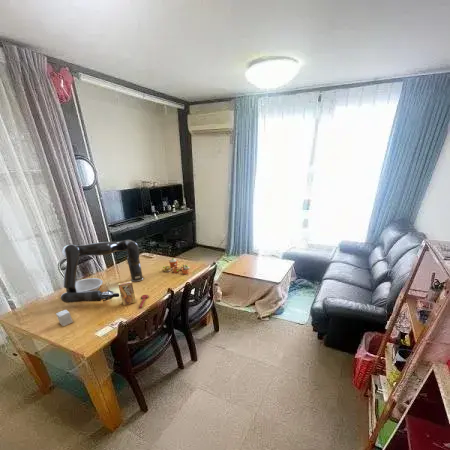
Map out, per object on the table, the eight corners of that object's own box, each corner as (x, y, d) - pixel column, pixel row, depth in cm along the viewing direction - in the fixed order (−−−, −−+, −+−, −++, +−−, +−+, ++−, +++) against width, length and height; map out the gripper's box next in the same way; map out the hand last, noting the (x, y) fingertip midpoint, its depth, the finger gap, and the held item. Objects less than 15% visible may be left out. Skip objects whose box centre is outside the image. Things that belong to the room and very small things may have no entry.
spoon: (142, 296, 189) (142, 294, 188) (148, 295, 189) (148, 294, 188) (137, 308, 174) (136, 306, 173) (143, 307, 174) (143, 306, 173)
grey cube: (73, 322, 160) (69, 312, 156) (62, 326, 156) (58, 316, 152) (69, 318, 163) (65, 309, 160) (59, 323, 159) (55, 313, 156)
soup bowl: (110, 291, 196) (108, 283, 193) (77, 303, 181) (74, 295, 178) (97, 282, 211) (94, 275, 208) (65, 293, 196) (63, 285, 192)
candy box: (135, 299, 184) (131, 280, 176) (136, 302, 181) (132, 282, 173) (122, 302, 180) (117, 283, 173) (123, 305, 177) (118, 285, 170)
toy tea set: (161, 271, 229) (159, 261, 224) (170, 265, 242) (169, 255, 237) (186, 275, 220) (185, 265, 216) (195, 269, 233) (194, 259, 228)
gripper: (88, 295, 168) (114, 294, 169) (95, 287, 180) (120, 286, 181) (91, 305, 172) (117, 304, 173) (98, 296, 184) (122, 295, 185)
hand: (118, 295), depth 177 cm, fingers closed
